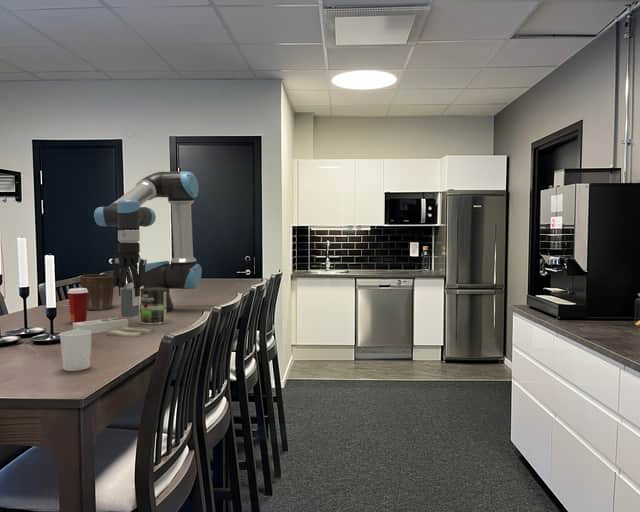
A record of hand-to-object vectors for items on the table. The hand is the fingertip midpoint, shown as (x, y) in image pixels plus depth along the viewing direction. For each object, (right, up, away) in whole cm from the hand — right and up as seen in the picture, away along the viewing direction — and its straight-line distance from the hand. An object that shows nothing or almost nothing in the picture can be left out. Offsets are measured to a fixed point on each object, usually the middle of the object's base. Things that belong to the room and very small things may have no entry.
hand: (129, 305), depth 190 cm
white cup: (+3, -13, -47) cm, 49 cm away
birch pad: (0, -10, +1) cm, 10 cm away
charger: (0, -4, 0) cm, 4 cm away
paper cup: (-28, -9, +20) cm, 36 cm away
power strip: (-13, -11, +5) cm, 17 cm away
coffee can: (+2, -10, +22) cm, 24 cm away
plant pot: (-36, -7, +57) cm, 67 cm away
